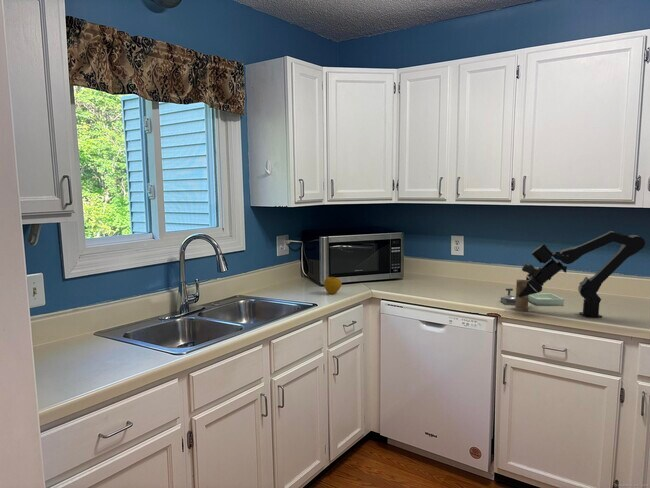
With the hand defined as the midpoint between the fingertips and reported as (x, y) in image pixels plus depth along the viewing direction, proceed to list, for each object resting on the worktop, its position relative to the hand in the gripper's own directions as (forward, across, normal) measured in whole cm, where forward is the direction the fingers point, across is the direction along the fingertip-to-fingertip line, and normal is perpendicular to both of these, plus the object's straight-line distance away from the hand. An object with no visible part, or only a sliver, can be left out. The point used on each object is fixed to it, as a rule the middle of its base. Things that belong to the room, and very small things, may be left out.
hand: (519, 294), depth 210 cm
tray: (-3, -18, +13) cm, 22 cm away
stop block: (+4, 0, +6) cm, 7 cm away
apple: (+68, +1, -57) cm, 88 cm away
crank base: (+7, -11, +3) cm, 13 cm away
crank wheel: (+6, -11, +1) cm, 12 cm away
